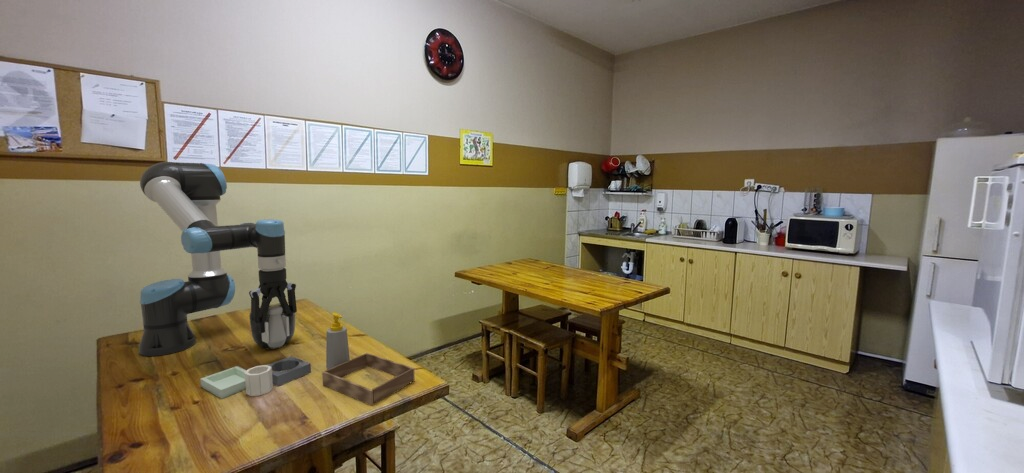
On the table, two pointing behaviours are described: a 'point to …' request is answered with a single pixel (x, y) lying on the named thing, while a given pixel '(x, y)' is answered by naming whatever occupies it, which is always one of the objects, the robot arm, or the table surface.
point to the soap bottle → (336, 344)
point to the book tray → (368, 396)
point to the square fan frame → (296, 370)
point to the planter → (254, 326)
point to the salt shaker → (276, 327)
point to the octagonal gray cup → (258, 380)
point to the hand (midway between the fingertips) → (276, 338)
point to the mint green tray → (225, 382)
